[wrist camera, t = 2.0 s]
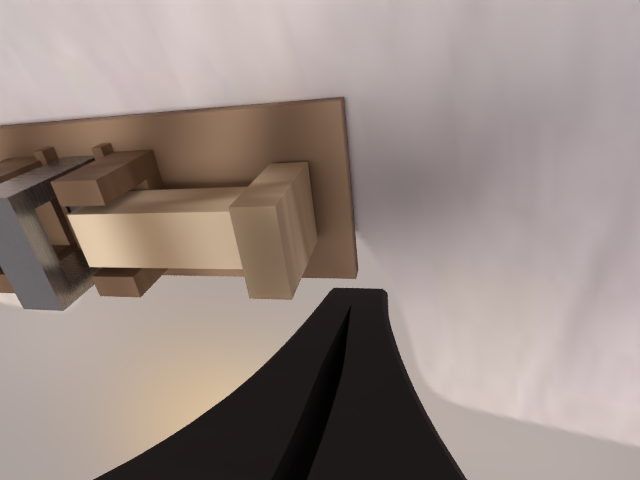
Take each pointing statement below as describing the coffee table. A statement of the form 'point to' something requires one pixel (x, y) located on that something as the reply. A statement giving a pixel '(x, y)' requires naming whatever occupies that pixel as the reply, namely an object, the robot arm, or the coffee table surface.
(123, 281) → the jig
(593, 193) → the coffee table surface
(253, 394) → the robot arm
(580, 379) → the coffee table surface
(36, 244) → the collar
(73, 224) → the shaft
